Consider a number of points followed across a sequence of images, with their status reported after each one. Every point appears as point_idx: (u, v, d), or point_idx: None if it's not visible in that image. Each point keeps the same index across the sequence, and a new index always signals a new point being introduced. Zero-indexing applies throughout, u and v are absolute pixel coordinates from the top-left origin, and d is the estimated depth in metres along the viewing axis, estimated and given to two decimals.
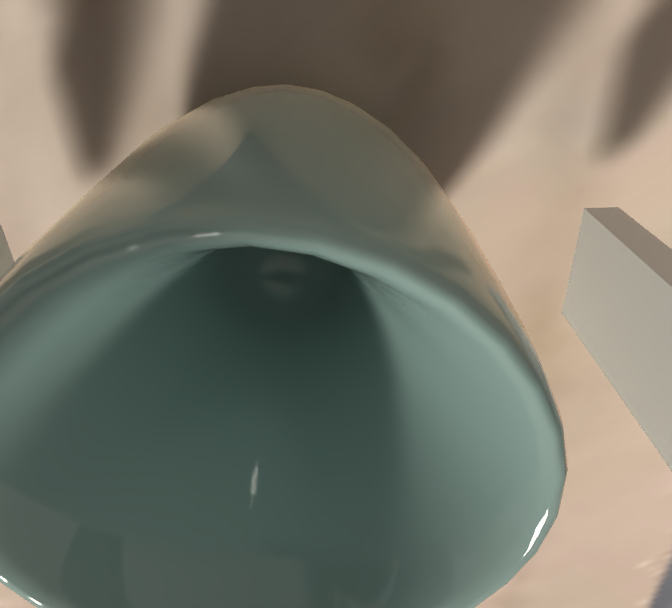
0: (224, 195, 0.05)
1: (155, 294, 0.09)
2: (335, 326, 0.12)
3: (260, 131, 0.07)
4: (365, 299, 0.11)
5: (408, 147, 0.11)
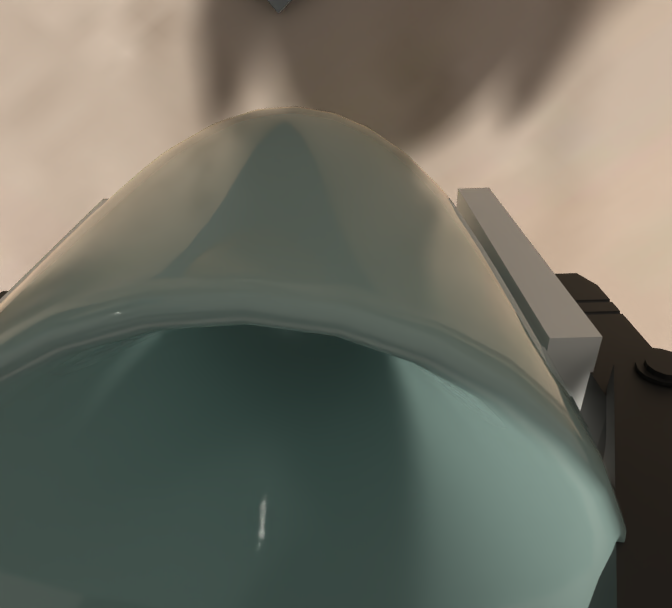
0: (221, 265, 0.04)
1: (147, 345, 0.08)
2: (346, 369, 0.11)
3: (266, 172, 0.06)
4: None
5: (429, 176, 0.10)
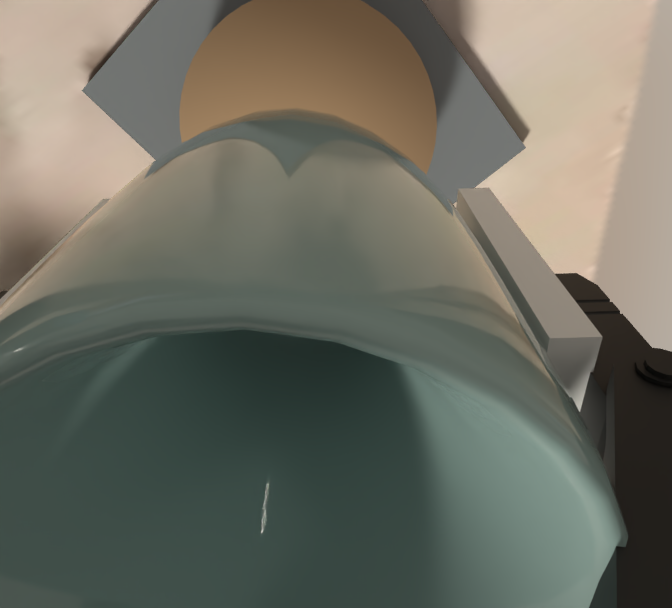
0: (220, 270, 0.04)
1: (146, 348, 0.08)
2: (347, 370, 0.11)
3: (266, 175, 0.06)
4: None
5: None
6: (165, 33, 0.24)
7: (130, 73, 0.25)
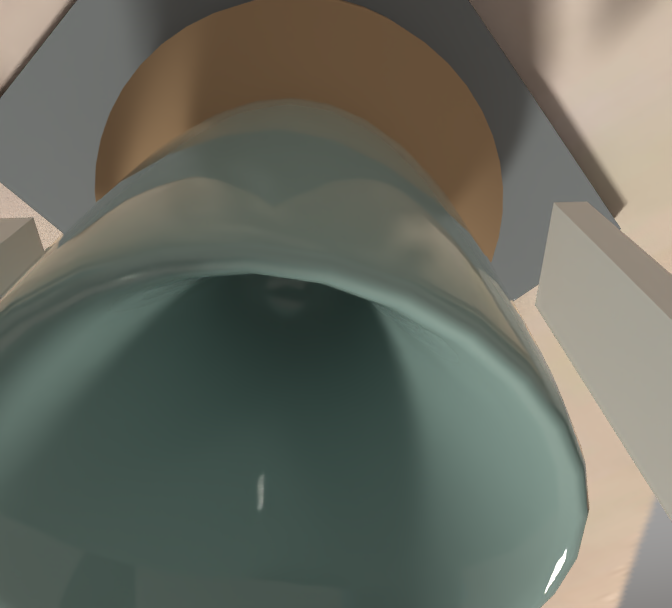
0: (227, 221, 0.05)
1: (156, 314, 0.09)
2: (342, 345, 0.12)
3: (266, 149, 0.07)
4: (373, 318, 0.11)
5: (418, 162, 0.11)
6: (80, 65, 0.16)
7: (31, 124, 0.17)
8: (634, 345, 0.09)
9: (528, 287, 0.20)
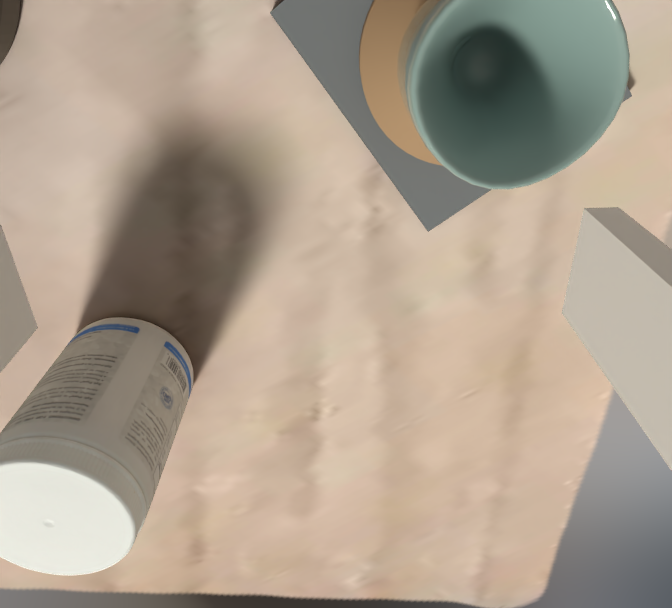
0: None
1: (459, 36, 0.22)
2: (505, 92, 0.25)
3: None
4: (528, 68, 0.24)
5: None
6: None
7: (314, 1, 0.30)
8: None
9: None
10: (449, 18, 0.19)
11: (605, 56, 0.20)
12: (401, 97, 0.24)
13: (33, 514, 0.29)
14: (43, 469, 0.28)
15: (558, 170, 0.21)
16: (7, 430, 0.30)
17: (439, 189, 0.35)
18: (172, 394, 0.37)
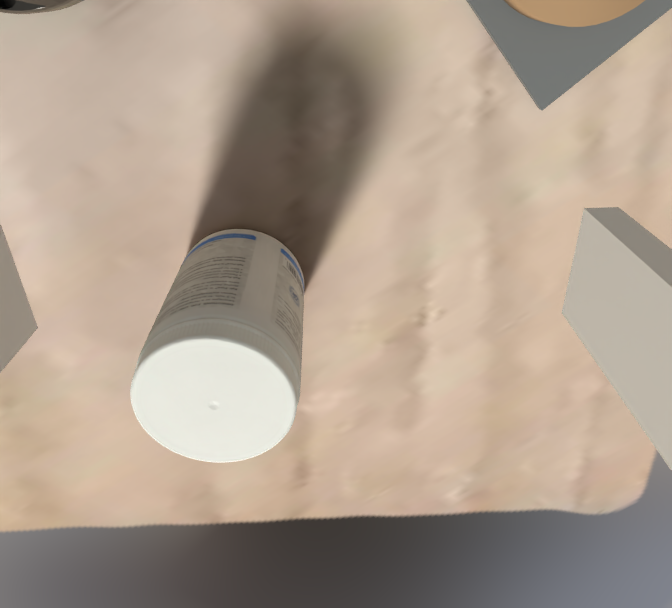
0: None
1: None
2: None
3: None
4: None
5: None
6: None
7: None
8: None
9: None
10: None
11: None
12: None
13: (199, 396, 0.30)
14: (213, 345, 0.29)
15: None
16: (164, 320, 0.31)
17: (555, 63, 0.35)
18: (297, 294, 0.38)
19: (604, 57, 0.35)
